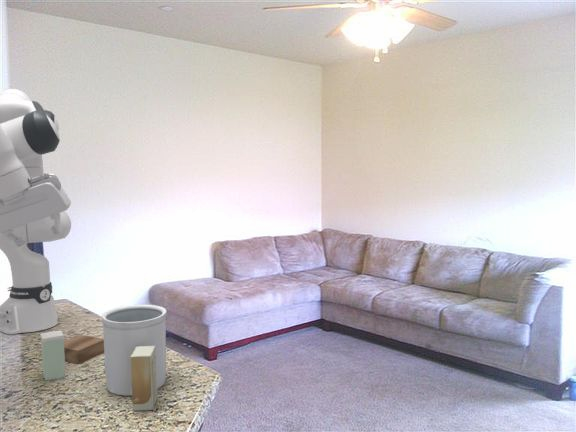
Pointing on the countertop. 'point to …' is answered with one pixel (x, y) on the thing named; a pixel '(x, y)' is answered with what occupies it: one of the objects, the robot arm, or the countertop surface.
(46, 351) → the canister
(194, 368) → the countertop surface
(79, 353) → the walnut block
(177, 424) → the countertop surface
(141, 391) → the skincare box
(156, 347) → the utensil holder
